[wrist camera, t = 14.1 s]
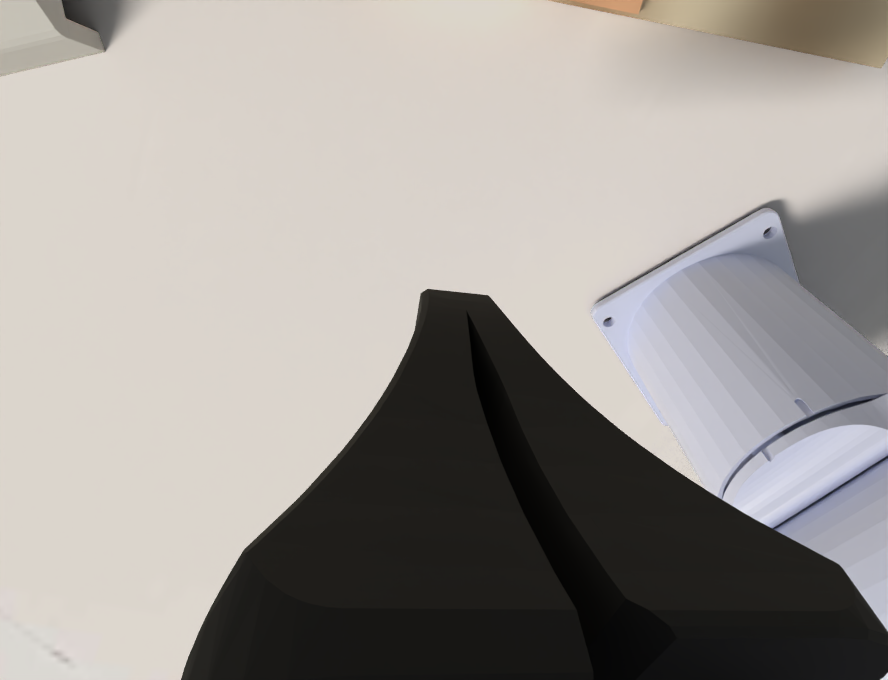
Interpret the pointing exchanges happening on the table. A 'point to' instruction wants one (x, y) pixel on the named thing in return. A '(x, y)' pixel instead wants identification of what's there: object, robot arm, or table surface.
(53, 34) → the grey rounded block
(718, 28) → the rail
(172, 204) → the table surface
